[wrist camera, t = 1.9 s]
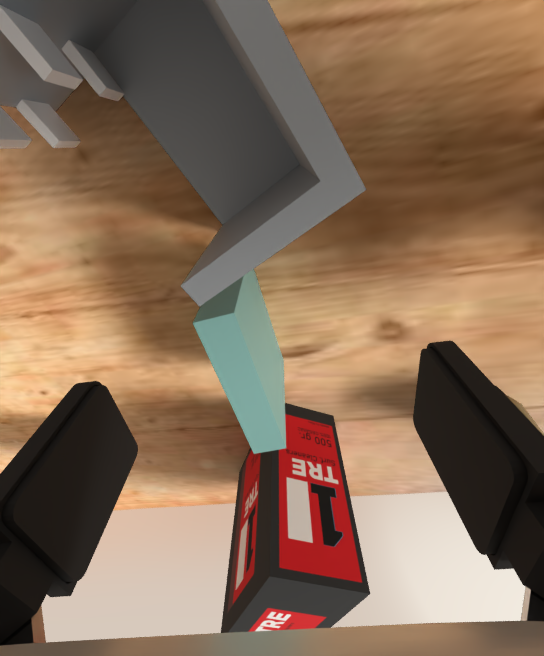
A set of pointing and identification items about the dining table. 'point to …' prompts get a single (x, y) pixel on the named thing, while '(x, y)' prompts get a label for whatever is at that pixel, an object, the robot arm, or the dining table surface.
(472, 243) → the dining table surface
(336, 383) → the dining table surface
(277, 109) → the cabinet
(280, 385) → the cabinet door
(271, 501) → the cleaning product box
